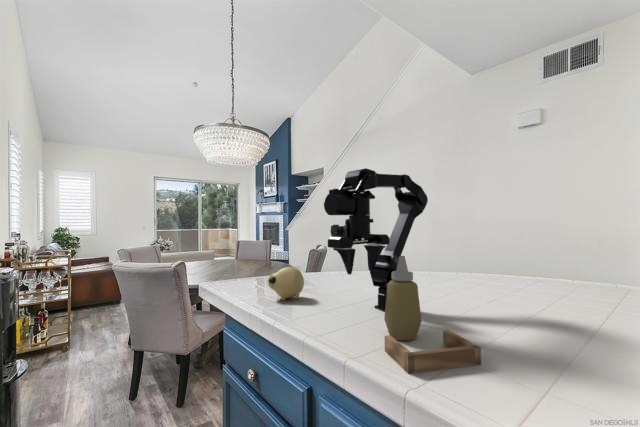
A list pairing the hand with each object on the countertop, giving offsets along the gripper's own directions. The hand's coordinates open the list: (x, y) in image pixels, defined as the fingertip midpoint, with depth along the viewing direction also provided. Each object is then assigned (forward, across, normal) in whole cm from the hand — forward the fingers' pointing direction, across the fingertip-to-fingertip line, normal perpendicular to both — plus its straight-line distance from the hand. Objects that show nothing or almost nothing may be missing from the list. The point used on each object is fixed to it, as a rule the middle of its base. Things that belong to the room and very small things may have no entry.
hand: (360, 272), depth 82 cm
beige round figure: (+12, +6, -29) cm, 32 cm away
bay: (+12, +8, +26) cm, 29 cm away
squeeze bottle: (+12, +3, +16) cm, 20 cm away
